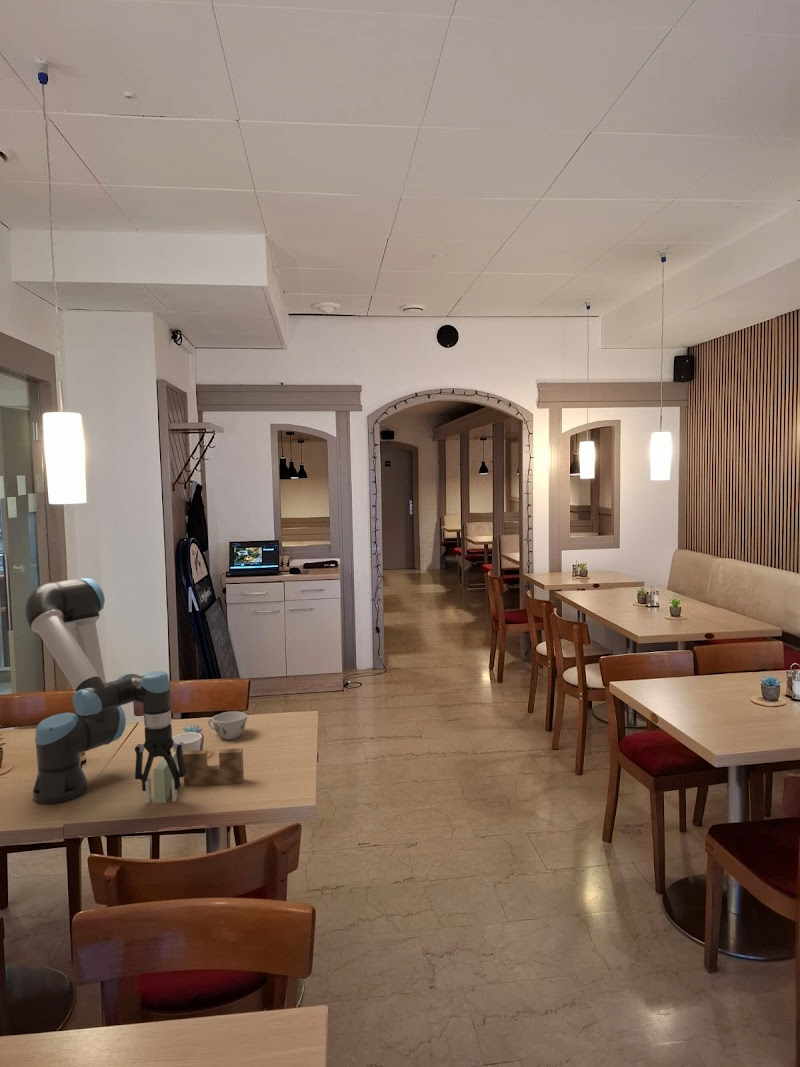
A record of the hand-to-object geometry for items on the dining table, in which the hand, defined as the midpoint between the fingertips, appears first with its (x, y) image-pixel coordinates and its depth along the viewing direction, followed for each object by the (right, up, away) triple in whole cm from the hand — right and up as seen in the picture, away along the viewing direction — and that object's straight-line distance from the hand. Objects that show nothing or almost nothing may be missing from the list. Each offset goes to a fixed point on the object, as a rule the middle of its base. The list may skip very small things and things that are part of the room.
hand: (161, 800), depth 210 cm
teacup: (+7, +4, +52) cm, 52 cm away
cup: (+1, +1, +22) cm, 22 cm away
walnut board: (+12, +1, +12) cm, 17 cm away
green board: (0, 0, +6) cm, 6 cm away
